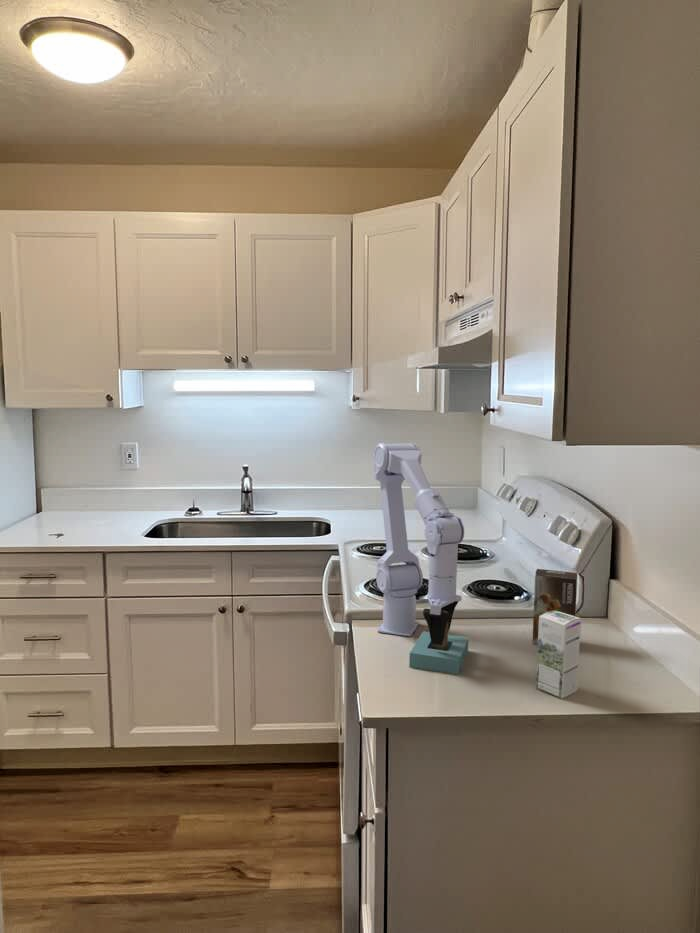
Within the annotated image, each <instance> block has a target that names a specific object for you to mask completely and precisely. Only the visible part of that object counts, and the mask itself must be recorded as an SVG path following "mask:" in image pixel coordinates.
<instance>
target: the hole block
mask: <svg viewBox="0 0 700 933" xmlns="http://www.w3.org/2000/svg"><path fill="white" fill-rule="evenodd" d="M469 639H470V638H469V637H467V636H459V635H454V634H453V635H452V634H448V644H447V651H443V650H436V649H433V644H432V643H431V638H430V633H429V631H424V630H423V631H422V633H421V634H420V636H419V637H418V639H417V641H416V642H415V644H414V645H413V646H412V649H411V650H410V652H409V663H408V664H409V666H408V668H413V669H421V670H426V671H433V672H438V673H446V674H451V675H458V676H459V674H460V671H461V669H462V666H463V665H464V661H465V659H466V657H467V654H468V651H469Z"/></svg>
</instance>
